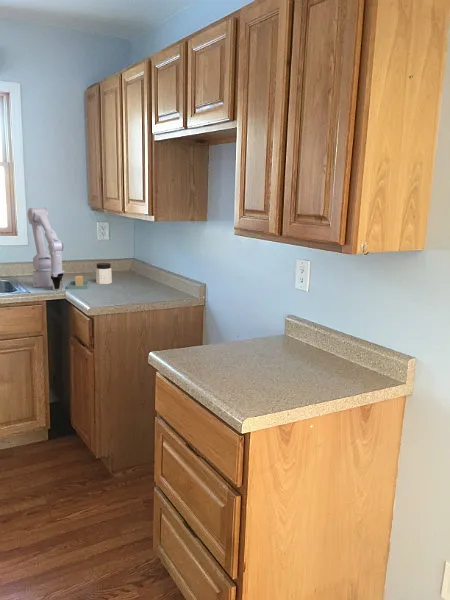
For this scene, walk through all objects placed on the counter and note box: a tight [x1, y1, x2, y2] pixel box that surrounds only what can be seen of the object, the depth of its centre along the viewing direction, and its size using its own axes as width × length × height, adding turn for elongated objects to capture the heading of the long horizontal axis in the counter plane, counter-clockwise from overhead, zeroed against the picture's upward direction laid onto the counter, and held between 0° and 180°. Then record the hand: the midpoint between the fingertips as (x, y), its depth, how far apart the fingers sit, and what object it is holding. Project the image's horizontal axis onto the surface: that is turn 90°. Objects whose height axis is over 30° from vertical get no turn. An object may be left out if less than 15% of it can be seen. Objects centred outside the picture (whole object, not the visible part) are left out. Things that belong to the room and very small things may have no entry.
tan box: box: [74, 275, 84, 286], centre depth 298 cm, size 4×4×5 cm
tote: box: [66, 280, 91, 290], centre depth 294 cm, size 11×15×2 cm
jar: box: [95, 262, 113, 285], centre depth 307 cm, size 9×8×12 cm
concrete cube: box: [51, 280, 64, 291], centre depth 285 cm, size 5×5×6 cm
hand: (57, 287), depth 285 cm, fingers open, 6 cm apart
